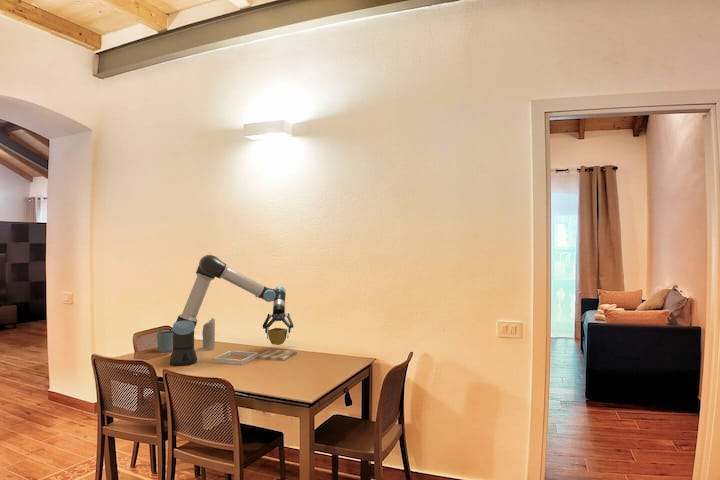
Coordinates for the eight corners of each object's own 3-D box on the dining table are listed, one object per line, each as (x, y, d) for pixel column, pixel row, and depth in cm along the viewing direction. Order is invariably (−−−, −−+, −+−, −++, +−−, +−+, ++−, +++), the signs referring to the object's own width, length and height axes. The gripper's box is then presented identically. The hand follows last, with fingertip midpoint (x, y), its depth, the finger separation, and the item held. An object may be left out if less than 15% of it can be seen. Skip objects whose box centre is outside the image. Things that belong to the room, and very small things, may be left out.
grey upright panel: (192, 349, 290) (192, 318, 290) (214, 347, 294) (214, 317, 294) (191, 351, 283) (191, 320, 283) (214, 350, 287) (214, 319, 288)
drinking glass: (153, 351, 282) (153, 333, 283) (164, 348, 292) (164, 330, 292) (166, 353, 280) (166, 334, 280) (177, 349, 289) (177, 331, 289)
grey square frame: (212, 362, 257) (212, 358, 257) (230, 354, 275) (230, 350, 275) (242, 364, 252) (242, 360, 252) (258, 356, 270) (258, 352, 270)
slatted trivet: (257, 358, 266) (257, 356, 266) (270, 351, 283) (270, 349, 283) (284, 360, 261) (284, 358, 261) (296, 353, 278) (296, 351, 278)
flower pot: (287, 343, 274) (287, 328, 274) (279, 346, 266) (279, 331, 266) (276, 341, 278) (275, 327, 278) (267, 345, 270) (267, 330, 270)
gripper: (297, 311, 289) (297, 339, 274) (260, 312, 286) (258, 341, 271) (297, 304, 284) (297, 333, 268) (259, 305, 281) (257, 334, 265)
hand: (277, 337), depth 269 cm, fingers closed on flower pot, 11 cm apart
